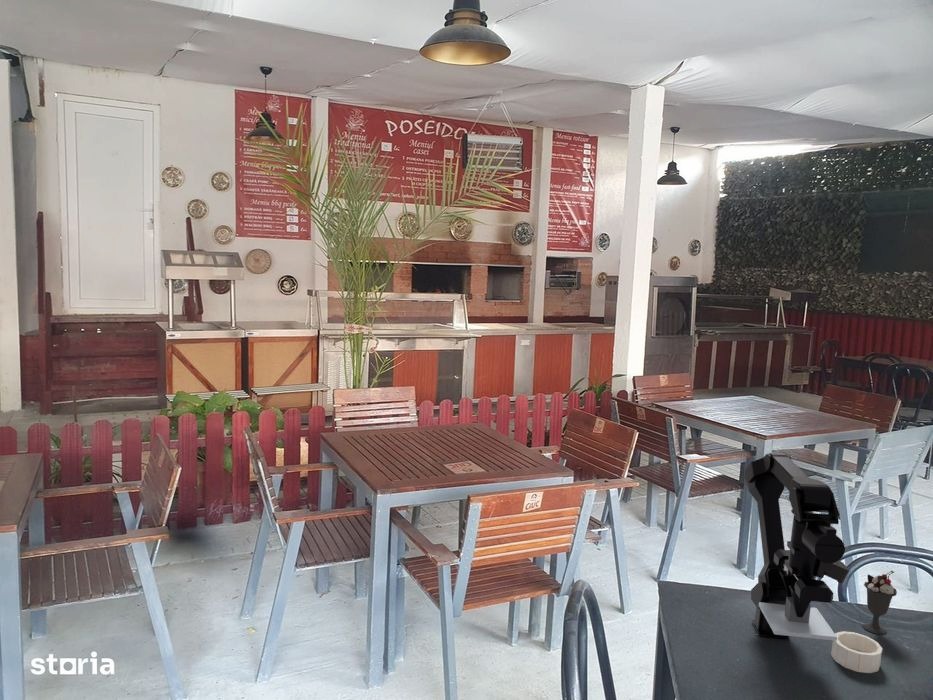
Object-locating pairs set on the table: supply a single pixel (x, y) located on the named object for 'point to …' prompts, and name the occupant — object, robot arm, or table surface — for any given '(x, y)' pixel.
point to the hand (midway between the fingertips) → (797, 613)
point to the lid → (796, 621)
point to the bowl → (856, 652)
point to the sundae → (878, 600)
